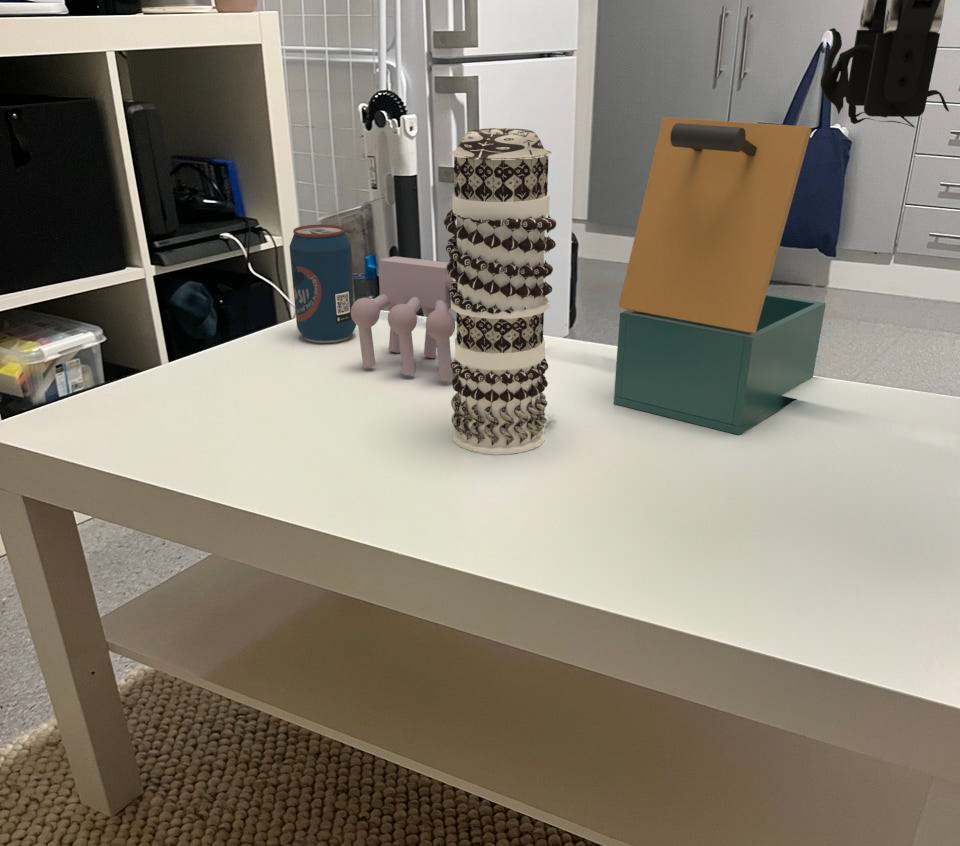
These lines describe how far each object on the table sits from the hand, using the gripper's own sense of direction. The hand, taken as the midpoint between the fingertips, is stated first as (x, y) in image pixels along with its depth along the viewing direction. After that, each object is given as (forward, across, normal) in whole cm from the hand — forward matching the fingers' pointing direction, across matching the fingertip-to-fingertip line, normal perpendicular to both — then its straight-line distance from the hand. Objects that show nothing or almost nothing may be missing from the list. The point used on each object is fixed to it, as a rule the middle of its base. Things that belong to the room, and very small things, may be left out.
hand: (882, 106), depth 60 cm
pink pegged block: (+28, +35, +33) cm, 56 cm away
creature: (+1, 0, 0) cm, 1 cm away
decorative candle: (+28, +17, +25) cm, 41 cm away
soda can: (+28, +46, +49) cm, 73 cm away
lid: (+11, +27, +8) cm, 30 cm away
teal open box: (+28, +31, +5) cm, 42 cm away
